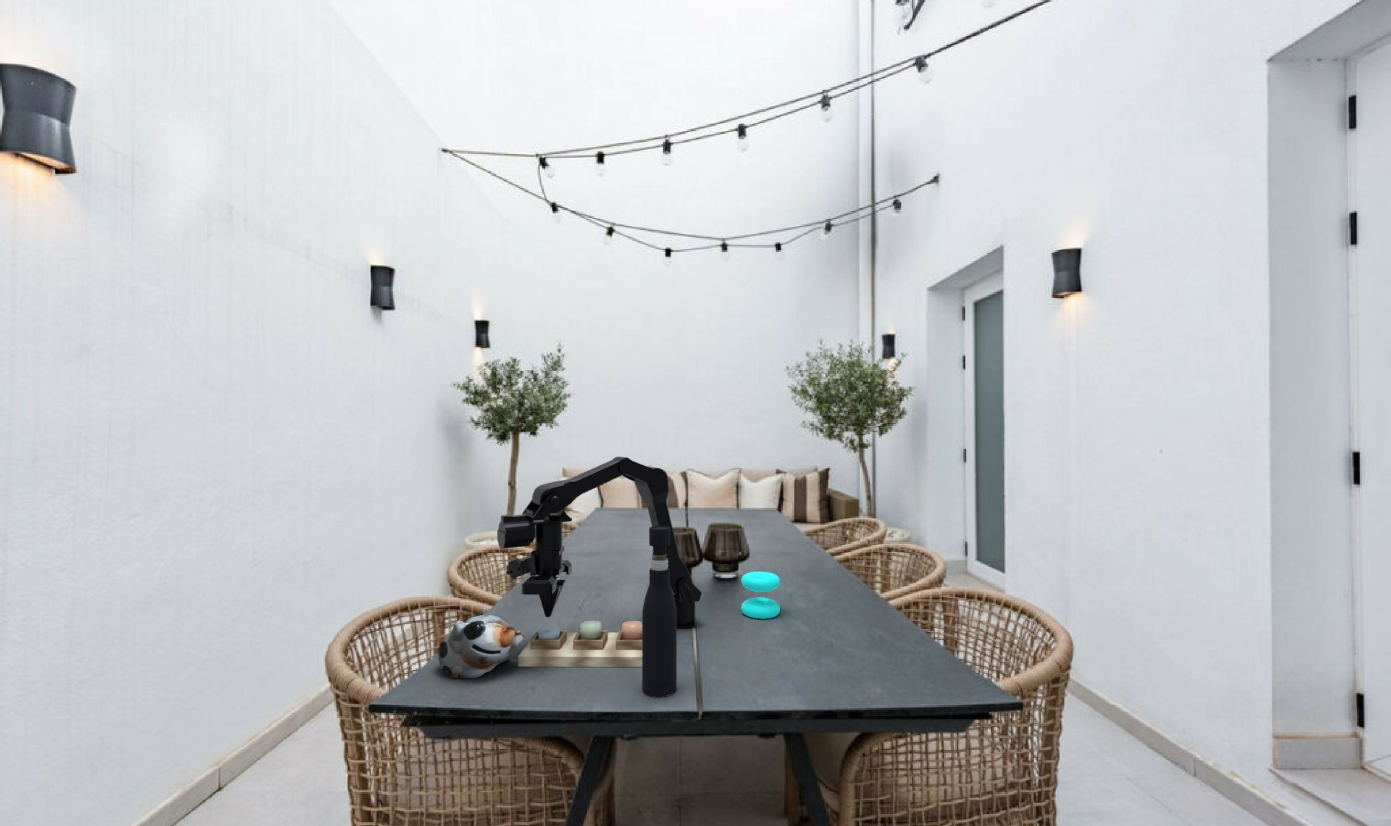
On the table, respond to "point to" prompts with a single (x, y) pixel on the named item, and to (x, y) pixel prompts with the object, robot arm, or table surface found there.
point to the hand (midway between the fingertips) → (548, 616)
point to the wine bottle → (659, 622)
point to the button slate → (549, 633)
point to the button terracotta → (632, 630)
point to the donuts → (760, 605)
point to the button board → (582, 651)
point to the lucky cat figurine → (477, 646)
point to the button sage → (590, 629)
